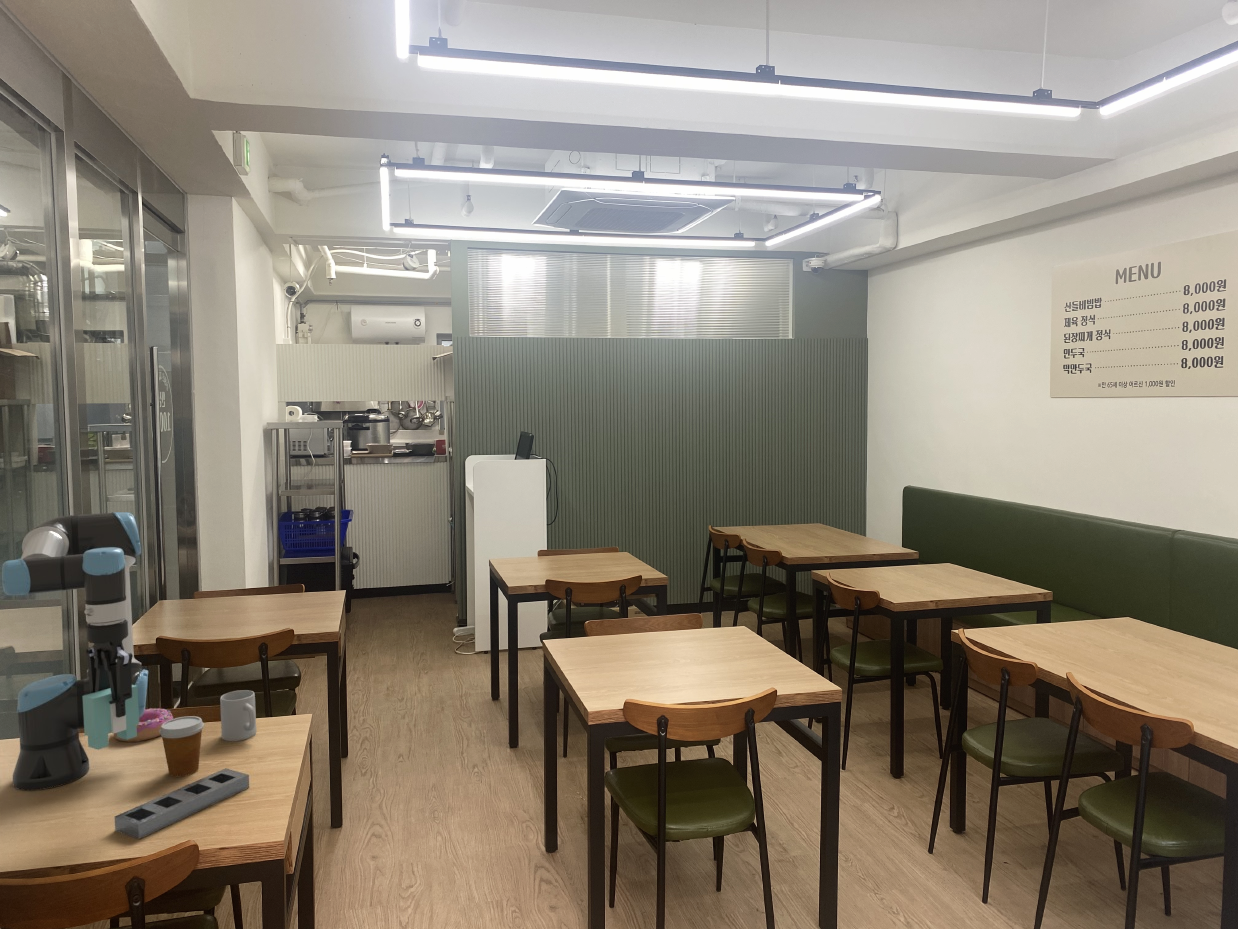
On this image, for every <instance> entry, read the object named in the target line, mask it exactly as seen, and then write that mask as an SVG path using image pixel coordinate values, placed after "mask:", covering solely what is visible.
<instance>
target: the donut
mask: <svg viewBox="0 0 1238 929" xmlns="http://www.w3.org/2000/svg"><path fill="white" fill-rule="evenodd" d="M171 712H172V711H171V710H169V709H165V708H156V707H155V708H154V707H153V708H145V712H144V714H143V715H142V716H141V717H140V718H139V724H136V725H137V737H134V738H131V739H128V740H126V739H122V738H119V737H117V733H114V734H113V736H114V738H115V739H116V740H118V741H121V742H127V743H130V742H131V743H132V742H140V741H141V742H142V741H146V740H152V739H154V738H157V737H160V736H161V734H160V733H159V731H160V729H161V726H162V724H163V723H165V722H167V721H169V720H172V719H174V716H173V714H172V713H171Z"/></svg>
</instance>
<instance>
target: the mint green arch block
mask: <svg viewBox="0 0 1238 929" xmlns="http://www.w3.org/2000/svg"><path fill="white" fill-rule="evenodd" d="M109 701H113V700H112V694H111V688H109V689H105V690H102V691H98V692H95V693H91V694H88V695H84V696H83V714H84V729H83V730H84V736H87V743H88V744H87V746H88V747H89V748H92V749H93V750H98V751H99V750H102V749H104V748H107V747H109V746H110V744H109V734H113V733H112V731H111V712H110V703H109ZM125 708H126V730H123V731H120V732H117V737H119V738H122V739H126V740H128V739H131V738H134V737H137V725H136V724H139V708H138V689H137V686H135V685H132V698H129V699H127V700H126V701H125Z"/></svg>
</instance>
